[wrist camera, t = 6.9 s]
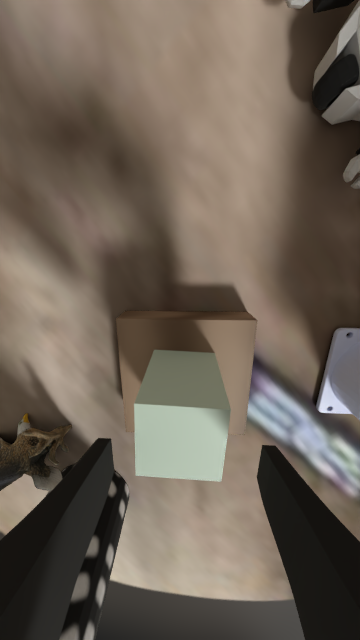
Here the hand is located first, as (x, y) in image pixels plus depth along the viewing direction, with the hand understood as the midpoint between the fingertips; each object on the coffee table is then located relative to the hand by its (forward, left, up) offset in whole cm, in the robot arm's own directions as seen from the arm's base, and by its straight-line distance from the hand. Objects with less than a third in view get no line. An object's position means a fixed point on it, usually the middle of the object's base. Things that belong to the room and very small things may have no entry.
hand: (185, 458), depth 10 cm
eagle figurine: (+15, +8, -9) cm, 19 cm away
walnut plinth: (0, 0, -10) cm, 10 cm away
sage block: (0, 0, -6) cm, 6 cm away
